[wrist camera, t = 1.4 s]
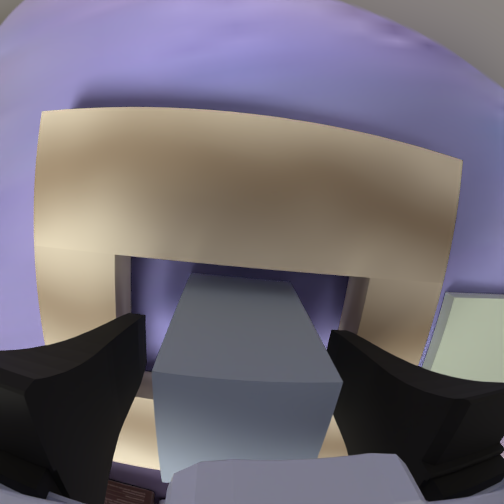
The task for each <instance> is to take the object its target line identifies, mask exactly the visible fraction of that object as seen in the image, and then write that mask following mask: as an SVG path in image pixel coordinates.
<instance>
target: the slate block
mask: <svg viewBox="0 0 504 504" xmlns="http://www.w3.org/2000/svg"><path fill="white" fill-rule="evenodd" d="M342 384H343V381H342V379H341V377H340V375H339V373H338V371H337V369H336V368H335V366H334V364H333V362H332V360H331V358H330V356H329V354H328V352H327V350H326V348H325V347H324V345H323V343H322V341H321V339H320V337H319V335H318V333H317V331H316V329H315V328H314V326H313V324H312V322H311V320H310V318H309V316H308V314H307V312H306V311H305V309H304V307H303V305H302V303H301V301H300V299H299V297H298V296H297V294H296V292H295V290H294V288H293V286H292V284H291V283H290V282H289V281H277V280H265V279H253V278H242V277H231V276H220V275H209V274H199V273H191V274H190V276H189V278H188V281H187V283H186V286H185V288H184V290H183V293H182V295H181V298H180V300H179V303H178V305H177V308H176V310H175V313H174V315H173V318H172V320H171V323H170V325H169V328H168V330H167V333H166V335H165V338H164V340H163V343H162V345H161V348H160V351H159V353H158V356H157V358H156V361H155V364H154V366H153V369H152V386H153V402H154V415H155V427H156V437H157V447H158V456H159V464H160V472H161V479H162V482H165V483H170V481H171V479H172V477H173V474H174V473H176V472H178V471H180V470H183V469H185V468H187V467H189V466H191V465H194V464H196V463H198V462H201V461H215V460H227V459H246V460H293V459H314V458H318V455H319V452H320V450H321V447H322V444H323V441H324V439H325V436H326V433H327V430H328V427H329V424H330V421H331V419H332V416H333V413H334V409H335V406H336V403H337V400H338V397H339V394H340V391H341V387H342Z"/></svg>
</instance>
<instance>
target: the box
mask: <svg viewBox="0 0 504 504" xmlns="http://www.w3.org/2000/svg"><path fill="white" fill-rule="evenodd" d="M154 496H155V494H154V492H153V491H150V490H146V489H142V488H138V487H134V486H131V485H127V484H123V483H119V482H115V481H112V480H109V479H108V485H107V490H106V496H105V502H104V504H154Z"/></svg>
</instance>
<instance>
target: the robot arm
mask: <svg viewBox="0 0 504 504" xmlns="http://www.w3.org/2000/svg"><path fill="white" fill-rule="evenodd" d="M327 352H328V354H329V356H330V358H331V360H332V362H333V364H334V366H335V368H336V369H337V371H338V373H339V375H340V377H341V379H342V381H343V384H342V387H341V391H340V394H339V397H338V400H337V403H336V406H335V409H334V413H333V416H334V418H335V421H336V423H337V426H338V428H339V430H340V433H341V435H342V438H343V440H344V443H345V446H346V449H347V453H348V456H339V457H328V458H314V459H293V460H246V459H227V460H215V461H201V462H198V463H196V464H194V465H191V466H189V467H187V468H185V469H183V470H180V471H178V472H176V473H174V474H173V477H172V479H171V481H170V483H169V486H168V488H167V493H166V500H160V501H159V504H504V459H503V457H502V456H501V455H500V454H501V453H502V452H503V451H504V447H503V446H502V445H501V444H500V443H499V442H500V441H501V439H502V438H503V436H504V383H503V382H483V381H474V380H467V379H461V378H456V377H452V376H448V375H444V374H440V373H436V372H433V371H430V370H427V369H425V368H422V367H419V366H417V365H414V364H412V363H409V362H407V361H405V360H403V359H401V358H399V357H397V356H395V355H393V354H391V353H389V352H387V351H385V350H383V349H381V348H380V347H378V346H376V345H374V344H373V343H371V342H369V341H367V340H365V339H364V338H362V337H360V336H358V335H356V334H354V333H352V332H350V331H347V330H331V334H330V338H329V342H328V347H327ZM146 363H147V359H146V330H145V315H141V314H134V313H127V314H125V315H122V316H120V317H118V318H116V319H114V320H112V321H110V322H108V323H105V324H103V325H101V326H99V327H97V328H95V329H93V330H90V331H88V332H86V333H83V334H81V335H78V336H76V337H73V338H70V339H67V340H64V341H61V342H57V343H54V344H50V345H45V346H40V347H34V348H29V349H20V350H6V351H0V504H104V502H105V496H106V490H107V485H108V479H109V474H110V470H111V465H112V461H113V457H114V453H115V449H116V445H117V441H118V438H119V434H120V432H121V429H122V426H123V424H124V421H125V419H126V417H127V415H128V412H129V410H130V408H131V405H132V403H133V401H134V399H135V396H136V394H137V392H138V389H139V387H140V385H141V382H142V378H143V375H144V371H145V367H146Z"/></svg>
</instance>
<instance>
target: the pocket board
mask: <svg viewBox="0 0 504 504" xmlns="http://www.w3.org/2000/svg"><path fill="white" fill-rule="evenodd" d="M462 164H463V160H460V159H457V158H454V157H451V156H448V155H445V154H442V153H438V152H435V151H432V150H428V149H425V148H422V147H418V146H415V145H411V144H407V143H404V142H400V141H396V140H392V139H388V138H384V137H380V136H376V135H372V134H367V133H363V132H358V131H354V130H349V129H344V128H339V127H334V126H329V125H323V124H318V123H312V122H306V121H300V120H294V119H287V118H280V117H273V116H265V115H257V114H249V113H239V112H229V111H218V110H204V109H188V108H164V107H104V108H81V109H66V110H53V111H43V112H42V115H41V122H40V129H39V137H38V147H37V157H36V170H35V187H34V249H35V267H36V280H37V290H38V300H39V308H40V315H41V322H42V329H43V335H44V341H45V345H50V344H54V343H57V342H61V341H64V340H67V339H70V338H73V337H76V336H78V335H81V334H83V333H86V332H88V331H90V330H93V329H95V328H97V327H99V326H101V325H103V324H105V323H108V322H110V321H112V320H114V319H116V318H118V317H120V316H122V315H125V314H127V313H131V256H134V257H144V258H154V259H163V260H173V261H184V262H194V263H204V264H215V265H226V266H236V267H247V268H258V269H270V270H281V271H293V272H304V273H316V274H329V275H341V276H349V280H348V285H347V290H346V295H345V300H344V305H343V310H342V314H341V319H340V323H339V328H338V330H347V331H350V332H352V333H354V334H356V335H358V336H360V337H362V338H364V339H365V340H367V341H369V342H371V343H373V344H374V345H376V346H378V347H380V348H381V349H383V350H385V351H387V352H389V353H391V354H393V355H395V356H397V357H399V358H401V359H403V360H405V361H407V362H409V363H412V364H414V365H417V366H418V364H419V361H420V358H421V356H422V353H423V350H424V347H425V344H426V341H427V338H428V335H429V331H430V328H431V325H432V322H433V318H434V315H435V311H436V308H437V304H438V301H439V297H440V293H441V289H442V285H443V281H444V277H445V273H446V268H447V264H448V259H449V254H450V249H451V244H452V239H453V233H454V227H455V221H456V215H457V208H458V201H459V193H460V184H461V175H462ZM339 456H348V453H347V449H346V446H345V443H344V440H343V438H342V435H341V433H340V430H339V428H338V426H337V423H336V421H335V418H334V416H332V419H331V421H330V424H329V427H328V430H327V433H326V436H325V439H324V441H323V444H322V447H321V450H320V452H319V455H318V458H328V457H339ZM113 461H115V462H119V463H124V464H129V465H134V466H139V467H144V468H150V469H156V470H160V464H159V456H158V447H157V437H156V427H155V415H154V402H153V386H152V372H147V371H144V375H143V378H142V382H141V385H140V387H139V389H138V392H137V394H136V396H135V399H134V401H133V403H132V405H131V408H130V410H129V412H128V415H127V417H126V419H125V421H124V424H123V426H122V429H121V432H120V434H119V438H118V441H117V445H116V449H115V453H114V457H113Z"/></svg>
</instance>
